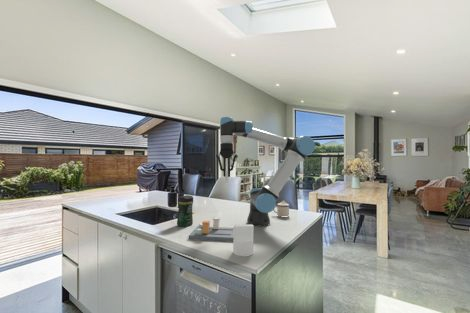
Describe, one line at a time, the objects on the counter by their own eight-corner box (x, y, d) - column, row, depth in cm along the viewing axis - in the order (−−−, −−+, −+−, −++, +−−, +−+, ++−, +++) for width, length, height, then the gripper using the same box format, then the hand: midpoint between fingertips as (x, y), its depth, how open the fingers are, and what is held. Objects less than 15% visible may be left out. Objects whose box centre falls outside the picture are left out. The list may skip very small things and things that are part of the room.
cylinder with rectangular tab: (234, 256, 102) (235, 228, 102) (231, 249, 111) (232, 223, 111) (255, 255, 103) (255, 227, 104) (250, 248, 112) (250, 222, 112)
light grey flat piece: (209, 225, 140) (210, 223, 140) (207, 228, 133) (207, 226, 133) (201, 223, 140) (201, 221, 140) (198, 226, 133) (198, 224, 133)
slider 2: (219, 227, 137) (219, 217, 137) (218, 229, 133) (218, 218, 133) (213, 227, 137) (214, 217, 137) (212, 229, 134) (212, 218, 134)
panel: (237, 231, 138) (238, 223, 138) (234, 241, 120) (235, 233, 120) (197, 229, 141) (197, 222, 141) (188, 239, 123) (188, 230, 123)
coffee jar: (184, 227, 143) (185, 197, 144) (174, 225, 147) (175, 195, 148) (194, 224, 152) (195, 195, 152) (185, 222, 156) (186, 194, 156)
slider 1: (209, 231, 128) (209, 221, 128) (208, 233, 125) (208, 222, 125) (203, 231, 128) (203, 220, 128) (201, 233, 125) (202, 222, 125)
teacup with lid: (289, 215, 182) (289, 200, 182) (288, 218, 173) (289, 202, 174) (273, 214, 185) (273, 199, 186) (272, 217, 177) (272, 201, 177)
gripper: (237, 143, 147) (237, 181, 146) (216, 143, 147) (216, 181, 147) (237, 142, 139) (237, 182, 139) (215, 142, 139) (215, 182, 139)
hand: (226, 182), depth 143 cm, fingers closed
